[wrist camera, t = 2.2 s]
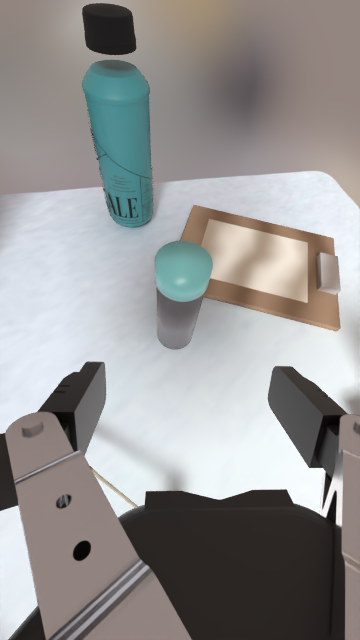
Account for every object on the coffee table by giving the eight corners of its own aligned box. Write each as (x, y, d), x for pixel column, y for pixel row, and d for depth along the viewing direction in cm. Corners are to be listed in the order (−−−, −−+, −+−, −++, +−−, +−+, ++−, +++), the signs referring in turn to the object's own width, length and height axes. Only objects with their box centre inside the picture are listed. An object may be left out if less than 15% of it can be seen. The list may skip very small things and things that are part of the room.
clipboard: (164, 286, 31) (165, 277, 29) (193, 209, 38) (194, 199, 37) (336, 331, 29) (346, 324, 28) (330, 242, 37) (337, 232, 36)
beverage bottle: (150, 205, 38) (141, -4, 20) (158, 234, 35) (156, 20, 18) (108, 209, 37) (61, -9, 19) (112, 239, 34) (62, 15, 16)
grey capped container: (151, 344, 27) (146, 276, 16) (162, 313, 29) (164, 235, 18) (187, 354, 27) (206, 292, 16) (196, 322, 29) (217, 248, 18)
